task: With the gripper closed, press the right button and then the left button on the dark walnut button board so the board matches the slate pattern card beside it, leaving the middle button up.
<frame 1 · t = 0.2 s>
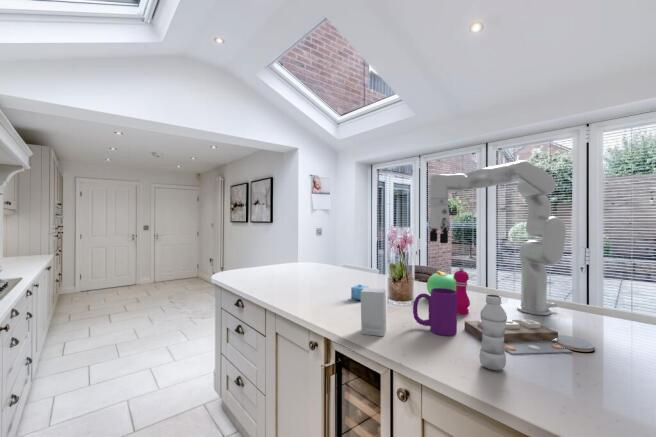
hand: (438, 242, 135), 31 cm above the table, tool pointing down, fingers open, 9 cm apart
pattern card: (533, 349, 99), on the table
middle button: (509, 326, 111), point 3 cm above the table, slide at 0.0 cm
toy bird: (444, 300, 157), on the table
pepper mill: (460, 313, 136), on the table
skincare box: (373, 333, 112), on the table
button board: (508, 334, 111), on the table
mug: (434, 330, 115), on the table
button 2: (530, 325, 112), point 3 cm above the table, slide at 0.0 cm
plastic bottle: (492, 368, 86), on the table
button 1: (487, 326, 110), point 3 cm above the table, slide at 0.0 cm
teapot: (359, 300, 156), on the table
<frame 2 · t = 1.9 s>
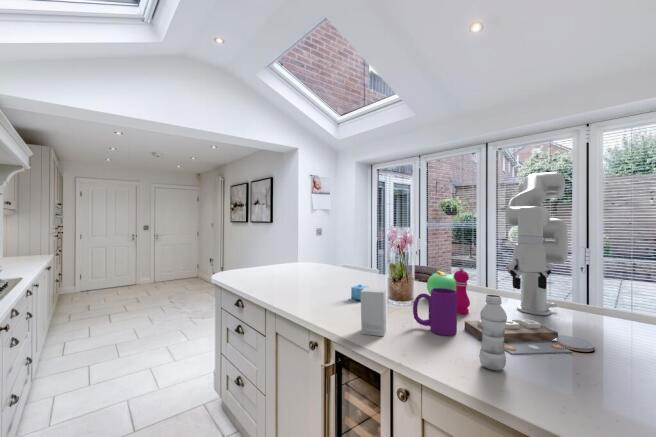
hand: (529, 288, 112), 16 cm above the table, tool pointing down, fingers open, 9 cm apart
nothing on the table moved.
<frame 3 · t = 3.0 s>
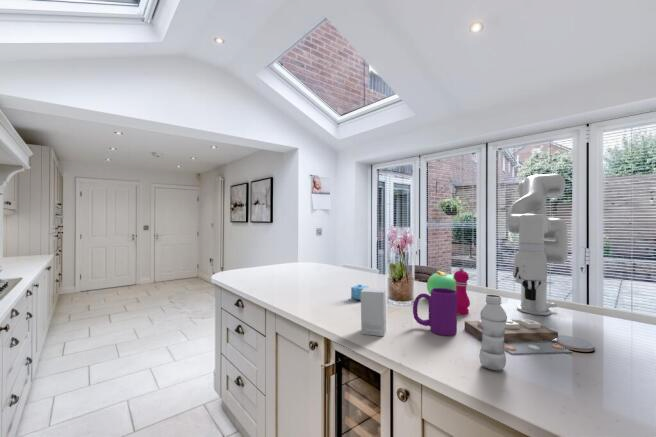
hand: (530, 299, 111), 13 cm above the table, tool pointing down, fingers closed
nothing on the table moved.
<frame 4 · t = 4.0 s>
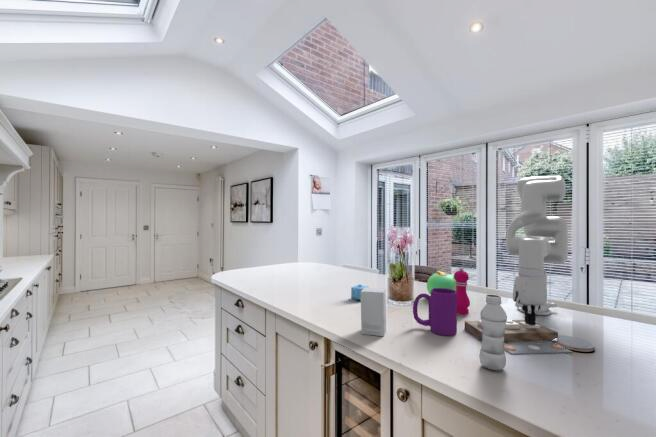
hand: (530, 323, 111), 4 cm above the table, tool pointing down, fingers closed
button 2: (530, 327, 112), point 2 cm above the table, slide at 0.8 cm, touching gripper
everything else where it was.
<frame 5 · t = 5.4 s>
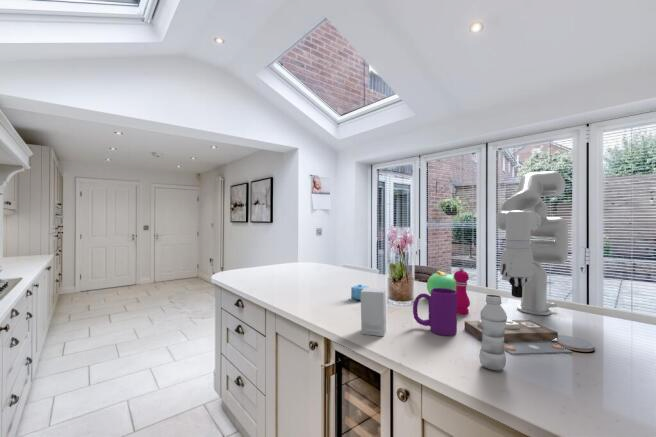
hand: (516, 296, 111), 14 cm above the table, tool pointing down, fingers closed
button 2: (530, 328, 112), point 2 cm above the table, slide at 1.1 cm
everything else where it was.
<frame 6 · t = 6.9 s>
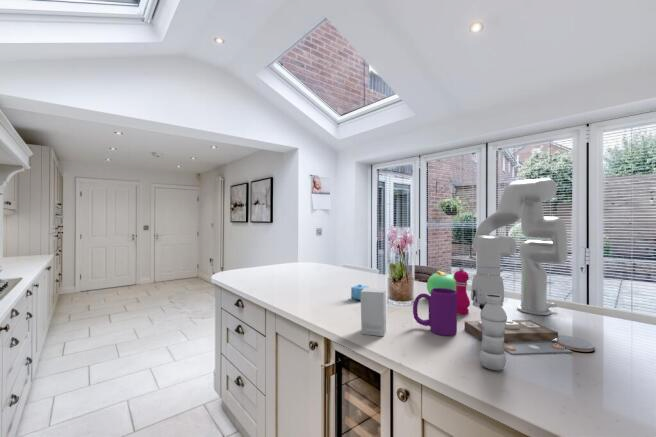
hand: (487, 322, 110), 4 cm above the table, tool pointing down, fingers closed
button 1: (487, 327, 110), point 3 cm above the table, slide at 0.3 cm, touching gripper
everything else where it was.
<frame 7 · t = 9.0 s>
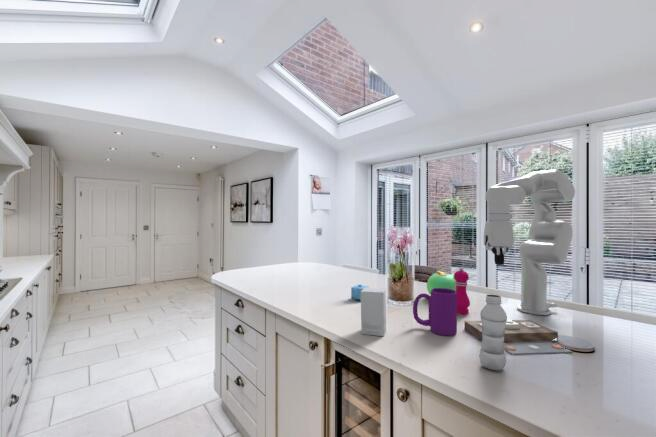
hand: (499, 264, 122), 23 cm above the table, tool pointing down, fingers closed
button 1: (487, 329, 110), point 2 cm above the table, slide at 1.0 cm
everything else where it was.
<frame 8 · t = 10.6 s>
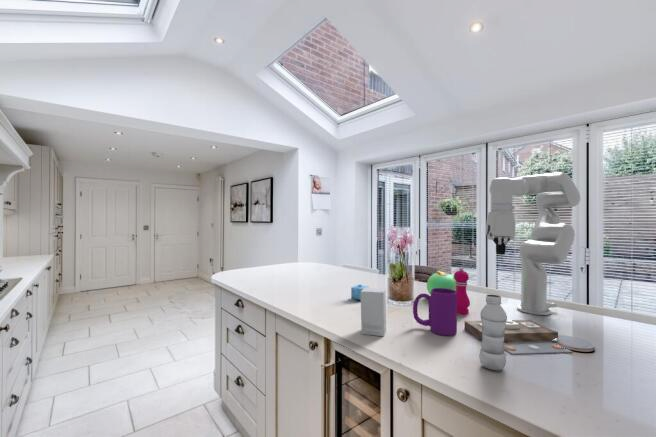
hand: (500, 254, 125), 27 cm above the table, tool pointing down, fingers closed
nothing on the table moved.
at the end: button 2 slide at 1.1 cm; button 1 slide at 1.0 cm; middle button slide at 0.0 cm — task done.
